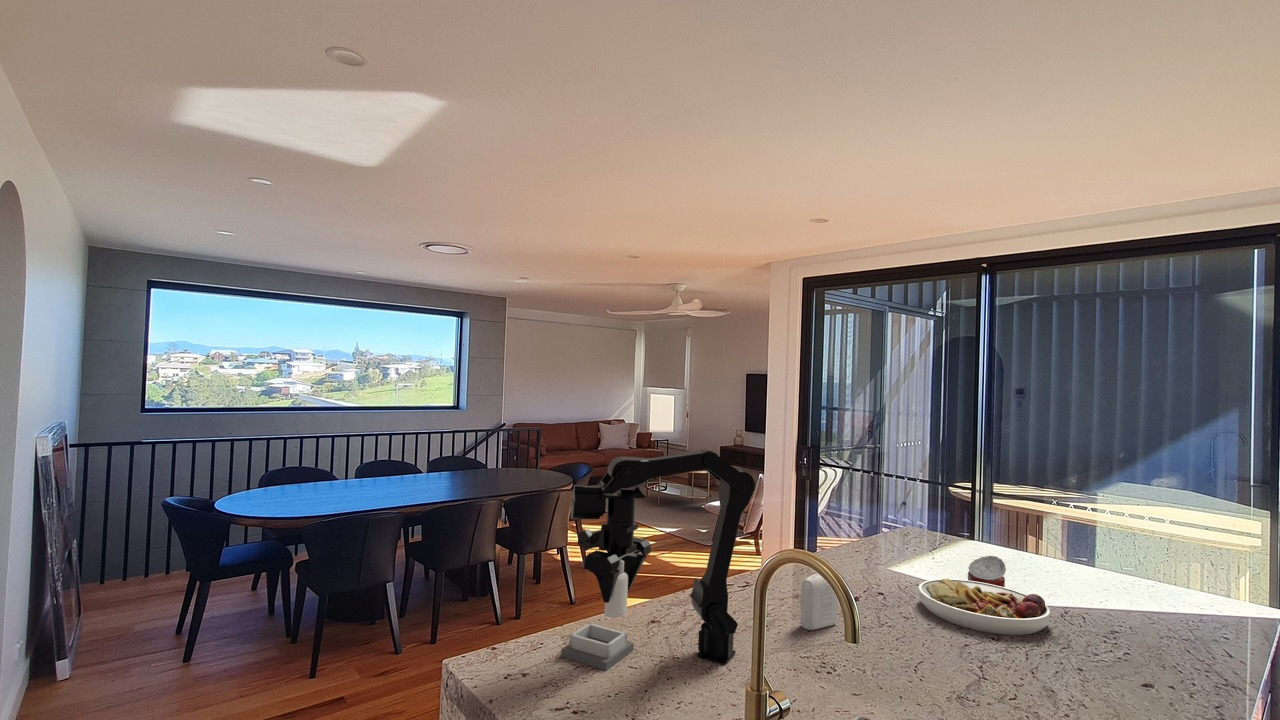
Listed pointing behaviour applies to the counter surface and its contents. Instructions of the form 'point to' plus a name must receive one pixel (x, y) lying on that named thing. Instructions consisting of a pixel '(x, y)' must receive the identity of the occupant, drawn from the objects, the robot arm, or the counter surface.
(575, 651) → the grey square bottle holder
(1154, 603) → the counter surface
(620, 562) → the eye dropper bottle
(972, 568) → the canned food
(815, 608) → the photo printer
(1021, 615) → the bowl
